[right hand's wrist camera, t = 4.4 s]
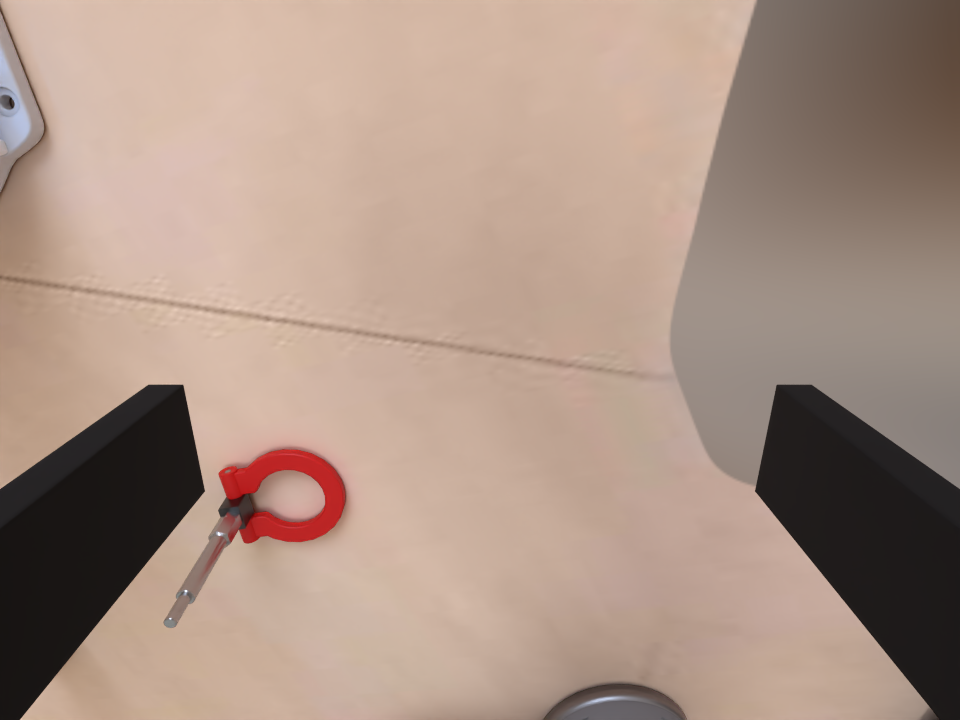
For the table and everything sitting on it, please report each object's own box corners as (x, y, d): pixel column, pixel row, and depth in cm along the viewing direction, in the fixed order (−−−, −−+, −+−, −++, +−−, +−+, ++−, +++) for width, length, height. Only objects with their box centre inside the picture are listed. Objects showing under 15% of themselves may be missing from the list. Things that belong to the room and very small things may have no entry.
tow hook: (332, 438, 44) (218, 457, 44) (288, 546, 32) (130, 570, 32) (356, 525, 47) (249, 542, 47) (324, 653, 35) (180, 675, 35)
